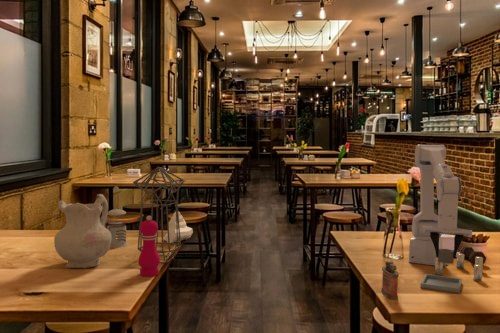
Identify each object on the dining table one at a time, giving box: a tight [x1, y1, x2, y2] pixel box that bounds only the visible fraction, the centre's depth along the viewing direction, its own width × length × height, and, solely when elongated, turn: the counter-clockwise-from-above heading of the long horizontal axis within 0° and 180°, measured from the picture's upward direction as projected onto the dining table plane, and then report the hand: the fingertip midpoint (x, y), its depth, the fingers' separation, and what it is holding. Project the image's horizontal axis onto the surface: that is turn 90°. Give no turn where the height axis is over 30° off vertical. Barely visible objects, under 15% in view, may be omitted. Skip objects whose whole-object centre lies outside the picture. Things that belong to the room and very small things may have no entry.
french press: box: [104, 186, 129, 249], centre depth 194 cm, size 10×12×25 cm
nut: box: [437, 248, 455, 265], centre depth 148 cm, size 4×5×4 cm
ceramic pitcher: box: [53, 193, 112, 269], centre depth 168 cm, size 22×20×25 cm
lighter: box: [381, 260, 399, 301], centre depth 137 cm, size 8×3×10 cm, turn 5°
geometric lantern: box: [132, 166, 186, 264], centre depth 173 cm, size 16×16×35 cm
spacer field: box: [434, 252, 484, 282], centre depth 160 cm, size 14×15×5 cm
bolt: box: [460, 246, 487, 266], centre depth 177 cm, size 6×5×15 cm
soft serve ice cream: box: [163, 210, 194, 243], centre depth 205 cm, size 12×15×14 cm
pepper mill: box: [138, 215, 161, 278], centre depth 156 cm, size 7×7×20 cm
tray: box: [420, 273, 462, 295], centre depth 147 cm, size 11×11×2 cm
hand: (445, 256), depth 148 cm, fingers closed on nut, 4 cm apart
